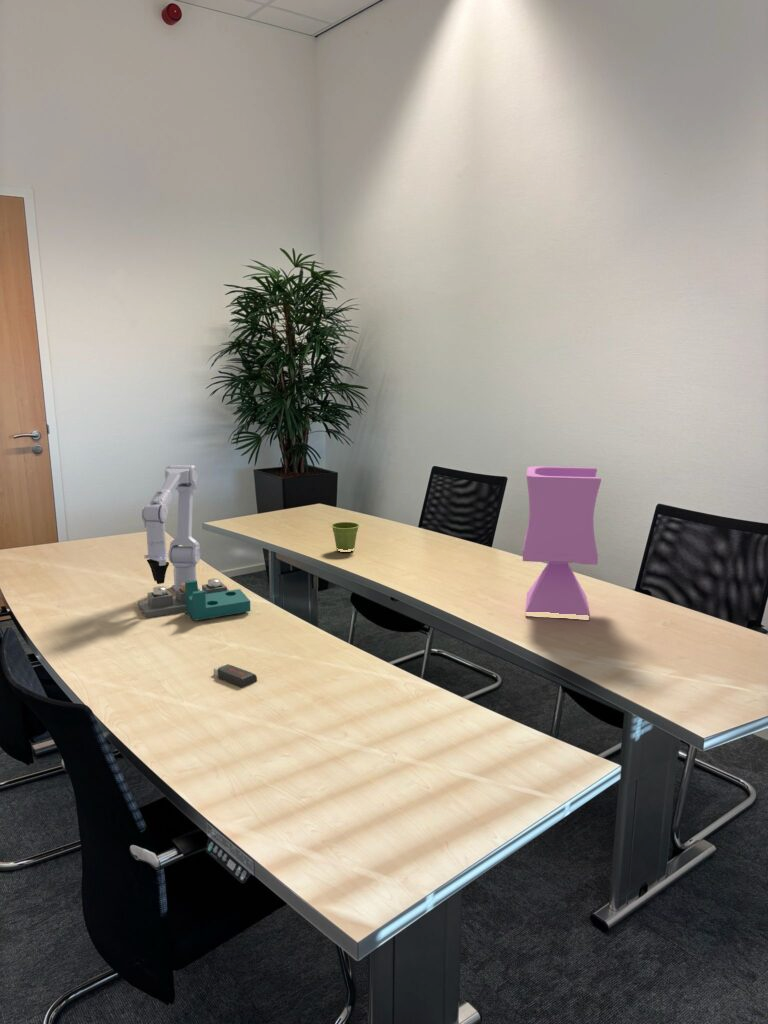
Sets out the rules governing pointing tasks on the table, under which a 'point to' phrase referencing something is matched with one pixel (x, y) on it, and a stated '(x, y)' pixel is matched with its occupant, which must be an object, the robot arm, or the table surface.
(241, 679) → the usb drive
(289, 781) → the table surface
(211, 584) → the knob
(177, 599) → the control panel
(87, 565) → the table surface
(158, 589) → the knob
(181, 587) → the middle knob
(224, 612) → the teal l-shaped bracket
